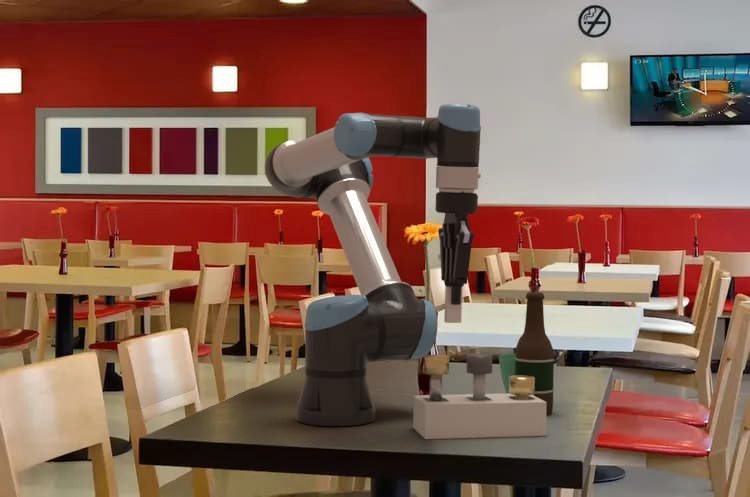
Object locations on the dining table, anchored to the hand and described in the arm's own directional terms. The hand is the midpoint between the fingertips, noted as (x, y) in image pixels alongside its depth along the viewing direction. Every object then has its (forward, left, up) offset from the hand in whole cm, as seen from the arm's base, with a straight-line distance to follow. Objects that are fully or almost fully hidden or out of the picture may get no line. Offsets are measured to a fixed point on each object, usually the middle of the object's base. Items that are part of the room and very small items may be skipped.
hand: (452, 322), depth 195 cm
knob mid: (+5, -1, -14) cm, 15 cm away
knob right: (+13, -1, -18) cm, 22 cm away
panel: (+5, -1, -20) cm, 20 cm away
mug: (+23, +27, -20) cm, 41 cm away
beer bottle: (+21, +16, -20) cm, 33 cm away
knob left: (-3, -1, -14) cm, 14 cm away
